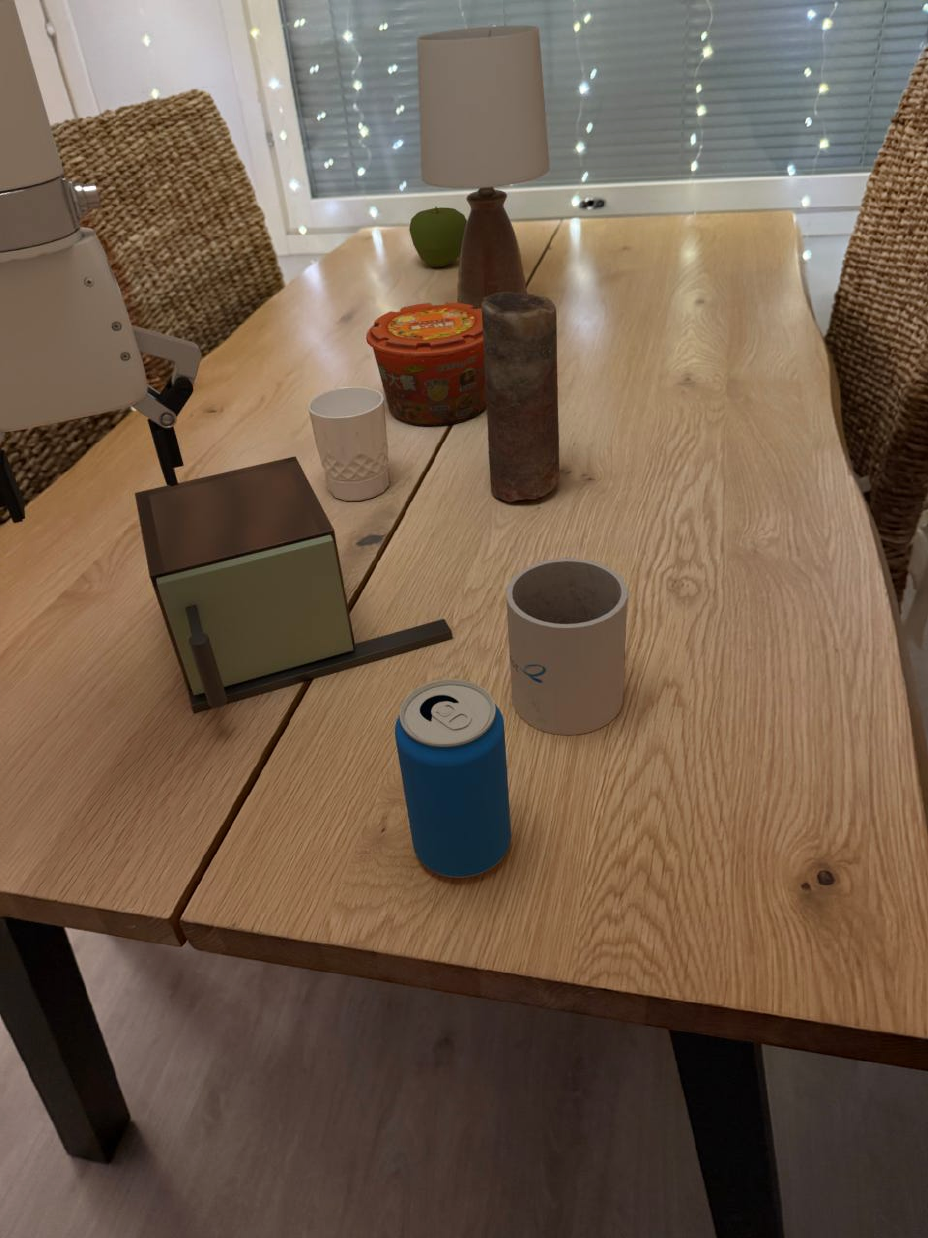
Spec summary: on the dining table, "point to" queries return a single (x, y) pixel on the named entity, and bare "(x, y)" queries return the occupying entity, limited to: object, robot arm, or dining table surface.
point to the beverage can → (454, 776)
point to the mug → (567, 644)
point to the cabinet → (243, 525)
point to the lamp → (483, 140)
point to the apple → (438, 235)
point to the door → (257, 615)
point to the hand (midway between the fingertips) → (96, 495)
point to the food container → (431, 362)
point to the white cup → (351, 441)
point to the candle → (521, 394)
